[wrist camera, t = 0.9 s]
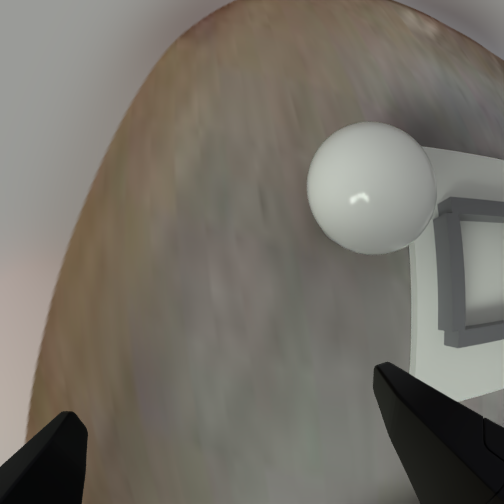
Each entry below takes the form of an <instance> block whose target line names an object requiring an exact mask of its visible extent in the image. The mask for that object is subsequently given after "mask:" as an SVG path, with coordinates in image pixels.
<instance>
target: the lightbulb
mask: <svg viewBox="0 0 504 504" xmlns="http://www.w3.org/2000/svg"><path fill="white" fill-rule="evenodd" d="M307 196H308V202H309V205H310V208H311V211H312V214H313V216H314V218H315V220H316V222H317V223H318V225H319V226H320V228H321V229H322V230H323V232H324V234H325V235H326V236H327V237H328V238H329V239H331V240H333V241H334V242H336V243H337V244H338V245H340V246H342V247H344V248H345V249H348V250H350V251H353V252H356V253H359V254H364V255H384V254H389V253H393V252H396V251H398V250H401V249H403V248H405V247H406V246H408V245H409V244H411V243H412V242H413V241H415V240H416V239H417V238H418V237H419V236H420V235H421V234H422V232H423V231H424V230H425V228H426V227H427V225H428V224H429V222H430V220H431V218H432V215H433V213H434V209H435V206H436V200H437V181H436V176H435V172H434V169H433V166H432V163H431V161H430V159H429V157H428V156H427V154H426V152H425V151H424V149H423V148H422V147H421V146H420V144H419V143H418V142H417V141H416V140H415V139H414V138H412V137H411V136H410V135H409V134H407V133H406V132H404V131H402V130H401V129H399V128H397V127H394V126H392V125H389V124H385V123H381V122H371V121H368V122H358V123H354V124H350V125H347V126H345V127H343V128H341V129H339V130H337V131H336V132H334V133H333V134H331V135H330V136H329V137H328V138H327V139H326V140H325V141H324V142H323V143H322V144H321V145H320V147H319V148H318V150H317V151H316V153H315V155H314V156H313V159H312V161H311V164H310V167H309V170H308V176H307Z"/></svg>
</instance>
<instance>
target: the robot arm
mask: <svg viewBox="0 0 504 504" xmlns="http://www.w3.org/2000/svg"><path fill="white" fill-rule="evenodd" d="M373 390H374V394H375V397H376V399H377V402H378V405H379V408H380V411H381V414H382V417H383V420H384V423H385V426H386V429H387V432H388V434H389V437H390V439H391V442H392V444H393V446H394V448H395V450H396V452H397V454H398V456H399V458H400V460H401V463H402V465H403V467H404V469H405V471H406V473H407V475H408V477H409V480H410V482H411V484H412V486H413V488H414V490H415V493H416V495H417V497H418V499H419V501H420V504H504V427H502V426H500V425H498V424H496V423H494V422H492V421H490V420H489V419H487V418H484V419H483V416H481V415H480V414H478V413H476V412H474V411H473V410H471V409H469V408H467V407H466V406H464V405H462V404H460V403H459V402H457V401H455V400H453V399H452V398H450V397H448V396H446V395H445V394H443V393H441V392H440V391H438V390H436V389H434V388H433V387H431V386H429V385H428V384H426V383H424V382H422V381H421V380H419V379H417V378H416V377H414V376H412V375H411V374H409V373H407V372H406V371H404V370H402V369H400V368H399V367H397V366H395V365H394V364H392V363H390V362H385V363H382V364H379V365H376V366H375V368H374V377H373ZM87 439H88V432H87V429H86V427H85V425H84V424H83V423H82V422H81V420H80V419H79V418H78V416H77V415H76V414H75V413H74V412H72V411H63V412H61V413H60V414H59V415H57V416H56V417H55V418H54V419H53V420H52V421H51V422H50V423H48V424H47V425H46V426H45V427H44V428H43V429H42V430H41V431H40V432H38V433H37V434H36V435H35V436H34V437H33V438H32V439H31V440H29V441H28V442H27V443H26V444H25V445H24V446H23V447H22V448H21V449H20V450H18V451H17V452H16V453H15V454H14V455H13V456H12V457H11V458H10V459H8V461H6V462H5V463H4V464H3V465H2V466H1V467H0V504H82V497H83V489H84V481H85V473H86V454H87Z"/></svg>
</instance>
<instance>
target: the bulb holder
mask: <svg viewBox="0 0 504 504" xmlns="http://www.w3.org/2000/svg"><path fill="white" fill-rule="evenodd" d="M421 147H422V148H423V149H424V151H425V152H426V154H427V156H428V157H429V159H430V161H431V163H432V166H433V169H434V172H435V176H436V181H437V200H436V206H435V209H434V213H433V215H432V218H431V220H430V222H429V224H428V225H427V227H426V228H425V230H424V231H423V232H422V234H421V235H420V236H419V237H418V238H417V239H416V240H415V241H413V242H412V243H411V244H409V254H410V273H411V353H410V371H409V374H411V375H412V376H414V377H416V378H417V379H419V380H421V381H422V382H424V383H426V384H428V385H429V386H431V387H433V388H434V389H436V390H438V391H440V392H441V393H443V394H445V395H446V396H448V397H450V398H452V399H453V400H455V401H457V402H459V401H463V400H466V399H470V398H474V397H477V396H481V395H484V394H487V393H491V392H494V391H497V390H500V389H503V388H504V160H501V159H496V158H491V157H486V156H481V155H475V154H470V153H464V152H458V151H451V150H445V149H438V148H431V147H423V146H421Z"/></svg>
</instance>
